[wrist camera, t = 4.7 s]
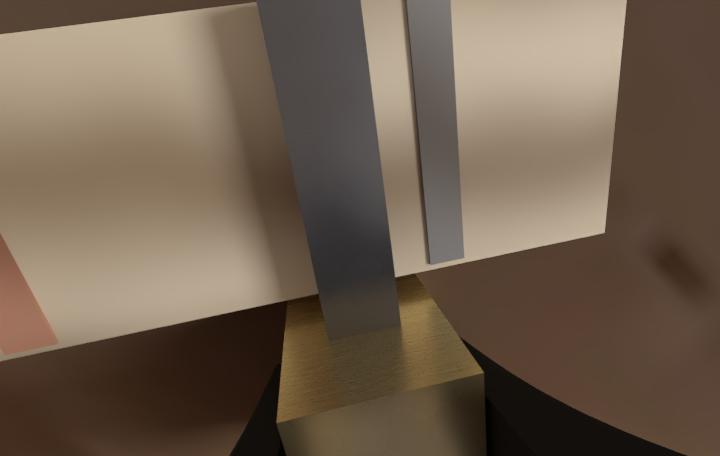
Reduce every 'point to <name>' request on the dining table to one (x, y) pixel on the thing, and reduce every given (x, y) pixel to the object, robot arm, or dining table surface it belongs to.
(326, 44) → the marking gauge
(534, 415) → the robot arm
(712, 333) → the dining table surface
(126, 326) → the maple board
